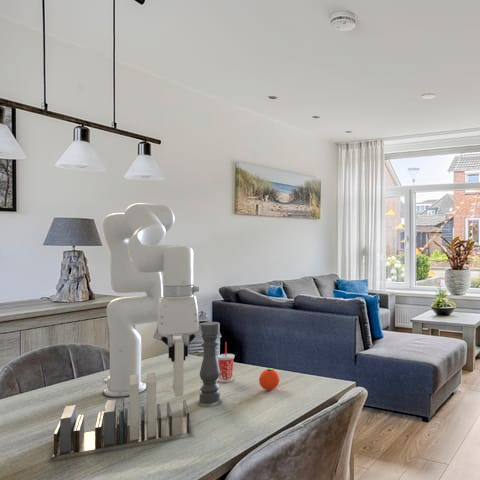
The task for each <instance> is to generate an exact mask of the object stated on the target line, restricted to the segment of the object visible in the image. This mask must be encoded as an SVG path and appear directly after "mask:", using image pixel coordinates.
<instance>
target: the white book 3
mask: <svg viewBox="0 0 480 480" xmlns="http://www.w3.org/2000/svg"><path fill="white" fill-rule="evenodd" d="M183 341H184V339H183V338H182V336H181V335H173V343H174V347H175V361H174V362H172V388H173V393H174V397H175V398H177V397H183V396H184V395H185V393H184V391H185V390H184V388H185V385H184V381H185V380H184V379H185V378H184V377H185V376H184V373H185V372H184V371H185V370H184V369H185V368H184V367H185V365H184V362H185V361H184V342H183Z"/></svg>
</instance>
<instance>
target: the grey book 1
mask: <svg viewBox="0 0 480 480" xmlns="http://www.w3.org/2000/svg"><path fill="white" fill-rule="evenodd" d="M59 421H60V453H62V452H68V451H71V449H72V446H73V430H74V427H75V424H76V421H77V405H76V404H72V405H66V406H65V407H64V409H63V411H62V414H61V416H60V418H59Z"/></svg>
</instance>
